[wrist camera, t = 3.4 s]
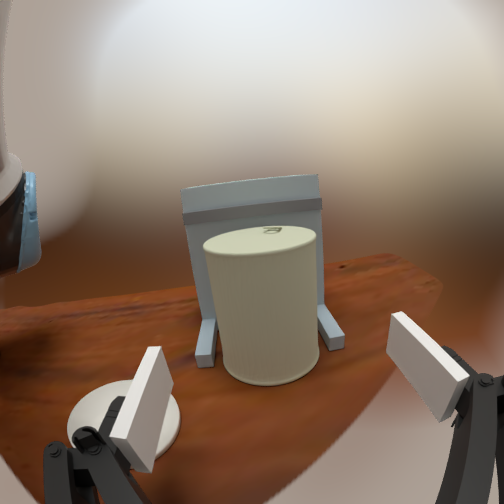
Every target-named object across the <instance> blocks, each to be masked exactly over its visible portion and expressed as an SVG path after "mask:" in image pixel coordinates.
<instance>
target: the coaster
mask: <svg viewBox="0 0 504 504" xmlns="http://www.w3.org/2000/svg"><path fill="white" fill-rule="evenodd" d="M132 382H133V380H124V381H118V382H113V383H110V384H107V385H104V386H102V387H99V388H97V389H95V390H94V391H92V392H90V393H89V394H87V395H86V396H85V397H84V398H82V399H81V400H80V401H79V402H78V403H77V405H76V406H75V407H74V409H73V410H72V412H71V414H70V417H69V420H68V424H67V432H68V437H69V440H70V442H71V444H72V446H73V447H74V448H76V447H75V445H74V444H73V443H72V435H73V433H74V432H75V431H76V430H77V429H79V428H80V427H84V426H91V427H93V428H95V429H96V430H97V431H98V430H99V428H100V425H101V423H102V421H103V419H104V417H105V414H106V412H107V411H108V408H109V406H110V404H111V402H112V401H113V400H114V399H115V398H116V397H117V396H126V395H127V393H128V391H129V388H130V386H131V384H132ZM180 424H181V415H180V410H179V408H178V405H177V403H176V400H175V399H174V397H173V396H172V395H171V394H170V398H169V402H168V406H167V410H166V414H165V418H164V422H163V426H162V430H161V434H160V438H159V442H158V447H157V451H156V455H155V459H157V458H158V457H160V456H161V455H162V454H163V453H165V452H166V451H167V450H168V448H169V447H170V446H171V445H172V443H173V442H174V441H175V439H176V437H177V435H178V432H179V429H180ZM130 469H134V468H133V467H132V466H131V467H130Z"/></svg>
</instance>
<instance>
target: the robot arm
mask: <svg viewBox="0 0 504 504" xmlns="http://www.w3.org/2000/svg"><path fill="white" fill-rule="evenodd" d="M12 1H13V0H0V278H2V277H5V276H8V275H11V274H15V273H19V272H20V271H21V270H23V269H26V268H28V267H31V266H33V265H35V264H36V263H37V262H38V261H39V259H40V257H41V245H40V238H39V229H38V218H37V205H36V175H35V173H33V172H28V171H27V172H25V173H24V174H23V169H22V164H21V161H20V159H19V158H18V157H17V156H15V155H14V154H12V153H9V152H8V150H7V143H6V134H5V124H4V109H3V67H4V66H3V65H4V52H5V41H6V33H7V27H8V21H9V15H10V10H11V5H12ZM386 352H387V354H388V355H389V356H390V358H391V359H392V360H393V361H394V363H395V364H396V365H397V367H398V368H399V369H400V370H401V372H402V373H403V374H404V376H405V377H406V378H407V380H408V381H409V382H410V384H411V385H412V386H413V387H414V389H415V390H416V392H417V393H418V394H419V396H420V397H421V398H422V400H423V401H424V402H425V404H426V405H427V406H428V407H429V409H430V411H431V412H432V413H433V415H434V416H435V417H436V419H437V420H438V422H442V421H444V420H446V419H447V418H449V417H451V415H452V413H453V411H454V409H456V410H457V412H458V414H457V416H456V418H455V420H454V421H453V423H452V426H451V427H453V426H454V424H455V428H454V434H453V440H452V445H451V449H450V454H449V459H448V462H447V467H446V470H445V474H444V478H443V481H442V485H441V488H440V491H439V494H438V497H437V500H436V503H435V504H487V503H488V498H489V493H490V488H491V483H492V476H493V469H494V462H495V458H496V466H497V475H498V489H499V504H504V375H503V376H500V377H496V378H493V376H491V375H489V374H486V373H481V374H478V373H477V372H476V371H474V370H473V369H472V368H471V367H470V366H469V365H468V364H467V363H466V362H465V361H464V360H462V358H461V357H460V356H458V354H456V352H455V351H453V350H452V349H451V348H448V347H446V346H442V347H440V346H439V345H438V344H437V343H436V342H435V341H434V340H433V339H432V338H430V337H429V336H428V335H427V334H426V333H425V332H424V331H423V330H422V329H421V328H420V327H419V326H418V325H416V324H415V323H414V322H413V321H412V320H411V319H410V318H409V317H408V316H407V315H405V314H404V313H403V312H398V313H394V314H391V322H390V330H389V337H388V343H387V349H386ZM172 387H173V380H172V378H171V375H170V372H169V369H168V366H167V363H166V360H165V357H164V354H163V351H162V348H161V346H158V347H148V349H147V351H146V353H145V355H144V357H143V359H142V362H141V364H140V366H139V368H138V370H137V373H136V375H135V377H134V379H133V382H132V384H131V386H130V388H129V391H128V393H127V395H126V396H117V397H116V398H115V399H114V400H113V401H112V402H111V404H110V406H109V408H108V411H107V412H106V414H105V417H104V419H103V421H102V423H101V425H100V428H99V430H98V431H97V430H96V429H95V428H93V427H91V426H84V427H80V428H79V429H77V430H76V431H75V432H74V433H73V435H72V443H73V444H74V445H75V447H76V448H67V447H66V446H65V445H64V444H63V443H62V442H59V441H54V442H51V443H49V444H48V445H47V446H46V447H45V449H44V459H43V471H44V495H45V504H100V502H99V498H98V493H97V489H98V491H99V493H100V495H101V497H102V499H103V500H104V502H105V504H152V503H151V502H150V500H149V499H148V498H147V496H146V495H145V493H144V492H143V491H142V489H141V488H140V486H139V485H138V483H137V482H136V480H135V479H134V477H133V476H132V474H131V473H130V472H129V470H130V467H131V466H132V467H133V468H134V469H135V471H138V472H145V473H152V469H153V464H154V460H155V455H156V451H157V447H158V442H159V438H160V434H161V430H162V426H163V422H164V418H165V414H166V410H167V406H168V402H169V398H170V394H171V391H172ZM96 487H97V489H96Z"/></svg>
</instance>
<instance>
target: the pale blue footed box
mask: <svg viewBox="0 0 504 504" xmlns="http://www.w3.org/2000/svg"><path fill="white" fill-rule="evenodd" d="M180 192H181V199H182V206H183V221H184V225H185V226H186V233H187V239H188V245H189V251H190V257H191V263H192V268H193V274H194V279H195V285H196V290H197V295H198V300H199V305H200V310H201V315H202V319H203V320H202V324H201V329H200V333H199V338H198V343H197V348H196V352H195V358H196V361H197V365H198V368H202V367H214V359H215V350H216V340H217V331H218V329H219V328H218V322H217V317H216V312H215V306H214V301H213V295H212V290H211V285H210V279H209V274H208V268H207V262H206V257H205V253H204V250H203V244H204V243H205V242H206V241H207V240H209V239H211V238H213V237H215V236H218V235H221V234H224V233H228V232H232V231H236V230H241V229H247V228H255V227H265V226H296V227H303V228H308V229H310V230H312V231H314V232H315V233H316V268H317V325H318V330H319V332H320V334H321V336H322V338H323V340H324V342H325V344H326V346H327V347H328V349H329V351H332V350H337V349H341V348H344V339H345V335H344V333H343V332H342V330H341V329H340V327H339V326H338V324H337V323H336V321H335V320H334V318H333V317H332V315H331V314H330V312H329V311H328V309H327V308H326V306H325V305H324V268H323V242H322V224H321V210H322V199H321V198H320V195H319V183H318V174H316V175H315V174H314V175H295V176H283V177H271V178H261V179H252V180H243V181H235V182H226V183H219V184H211V185H204V186H197V187H191V188H186V189H181V190H180Z"/></svg>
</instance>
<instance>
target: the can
mask: <svg viewBox="0 0 504 504" xmlns="http://www.w3.org/2000/svg"><path fill="white" fill-rule="evenodd" d="M203 250H204V253H205V257H206V262H207V268H208V274H209V279H210V285H211V290H212V295H213V301H214V306H215V312H216V317H217V322H218V328H219V333H220V339H221V344H222V350H223V363H224V366H225V368H226V370H227V371H228V372H229V373H230V374H231V375H232V376H233V377H234V378H236V379H238V380H240V381H242V382H245V383H248V384H252V385H258V386H275V385H281V384H286V383H289V382H292V381H294V380H297V379H299V378H301V377H302V376H304V375H306V374H307V373H308V372H309V371H310V370H311V369H312V368H313V367H314V366H315V365H316V363H317V361H318V358H319V347H318V325H317V268H316V233H315V232H314V231H312V230H310V229H308V228H303V227H296V226H265V227H255V228H247V229H241V230H236V231H232V232H228V233H224V234H221V235H218V236H215V237H213V238H211V239H209V240H207V241H206V242H205V243H204V244H203Z"/></svg>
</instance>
